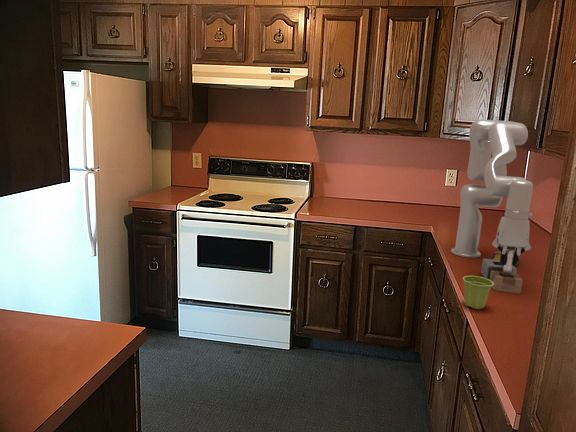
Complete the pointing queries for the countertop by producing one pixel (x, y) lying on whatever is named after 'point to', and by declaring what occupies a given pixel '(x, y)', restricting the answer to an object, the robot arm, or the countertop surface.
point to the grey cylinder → (508, 263)
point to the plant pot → (476, 291)
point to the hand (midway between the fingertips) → (508, 264)
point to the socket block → (492, 267)
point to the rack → (506, 282)
